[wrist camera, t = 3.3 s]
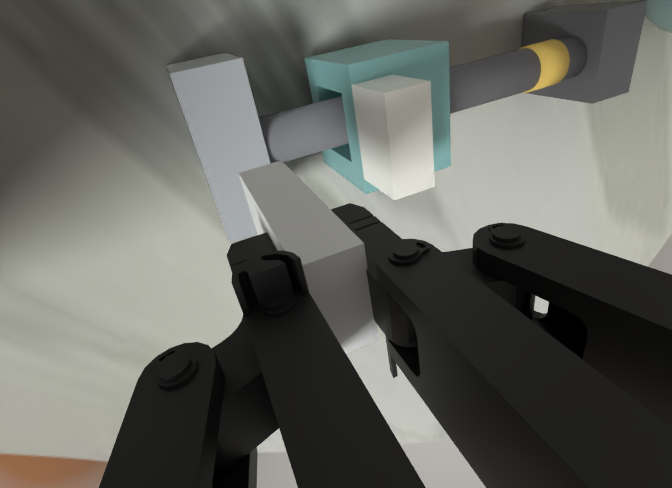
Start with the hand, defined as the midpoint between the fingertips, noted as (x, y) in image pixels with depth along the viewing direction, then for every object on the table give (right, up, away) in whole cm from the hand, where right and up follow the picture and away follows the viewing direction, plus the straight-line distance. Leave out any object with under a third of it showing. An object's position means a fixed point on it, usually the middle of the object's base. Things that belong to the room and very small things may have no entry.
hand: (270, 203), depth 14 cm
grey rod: (+7, +7, +9) cm, 14 cm away
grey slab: (-4, +5, +9) cm, 11 cm away
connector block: (+17, +12, +14) cm, 25 cm away
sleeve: (+3, +7, +10) cm, 13 cm away
